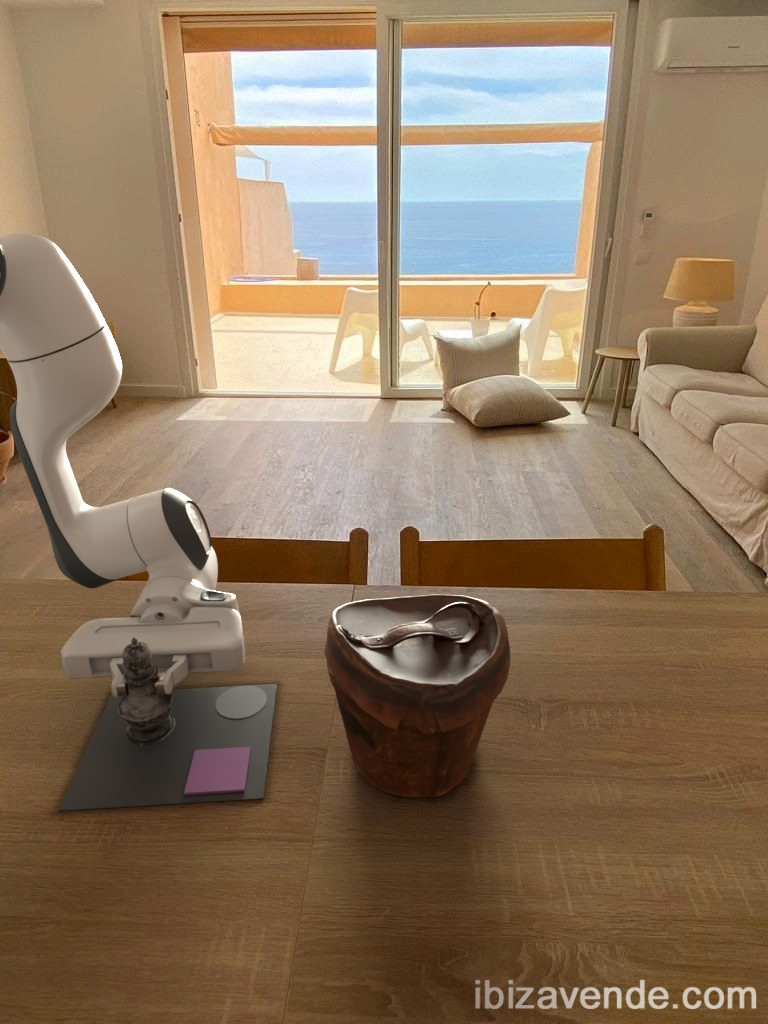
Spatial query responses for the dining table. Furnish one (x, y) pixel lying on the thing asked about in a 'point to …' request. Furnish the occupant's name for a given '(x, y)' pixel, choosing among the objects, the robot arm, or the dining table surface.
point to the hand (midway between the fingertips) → (140, 690)
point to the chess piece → (144, 698)
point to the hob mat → (175, 750)
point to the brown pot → (416, 686)
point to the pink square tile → (218, 771)
